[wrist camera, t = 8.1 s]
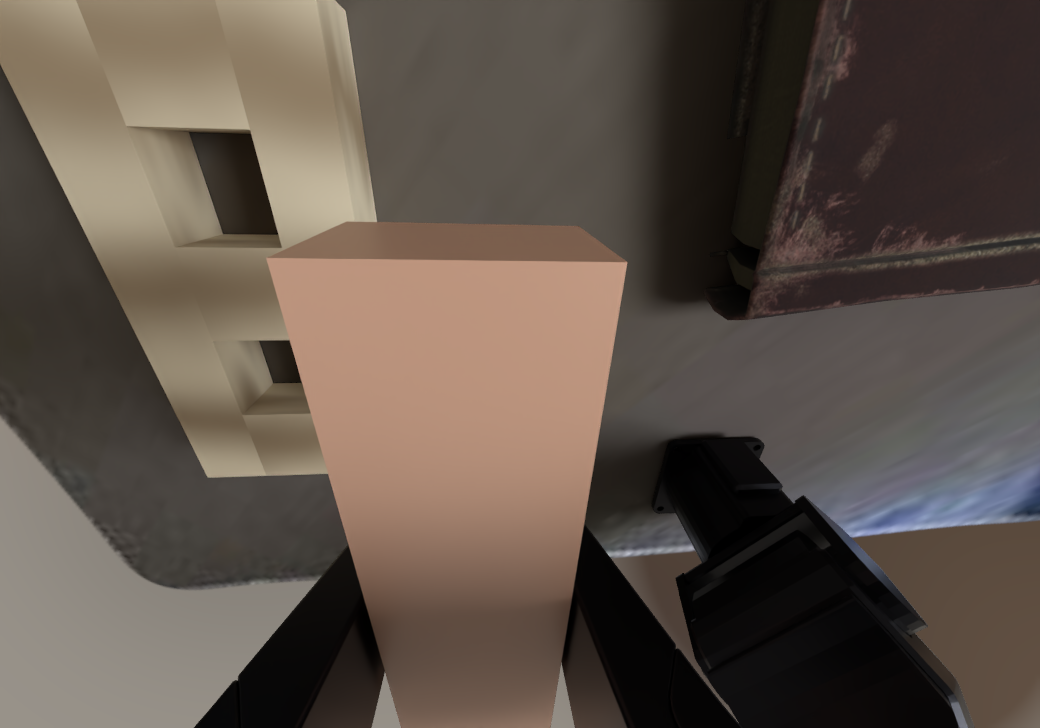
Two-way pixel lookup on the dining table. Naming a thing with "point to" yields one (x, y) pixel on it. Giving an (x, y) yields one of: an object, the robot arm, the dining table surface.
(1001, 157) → the diary
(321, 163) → the cream two-hole slab
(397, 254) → the pink rectangular block
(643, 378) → the dining table surface
